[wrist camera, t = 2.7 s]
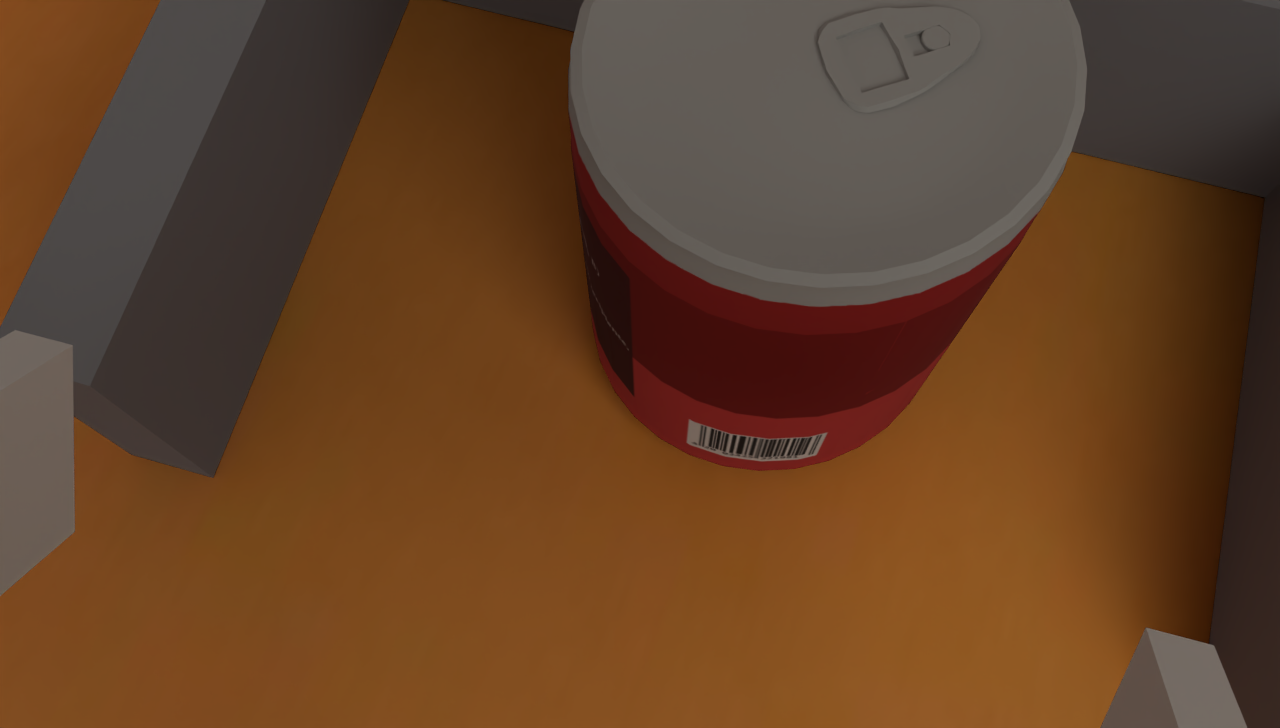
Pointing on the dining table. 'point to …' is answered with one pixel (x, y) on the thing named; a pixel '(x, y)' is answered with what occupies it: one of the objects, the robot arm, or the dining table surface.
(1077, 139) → the open box
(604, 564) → the dining table surface
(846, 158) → the canned food
